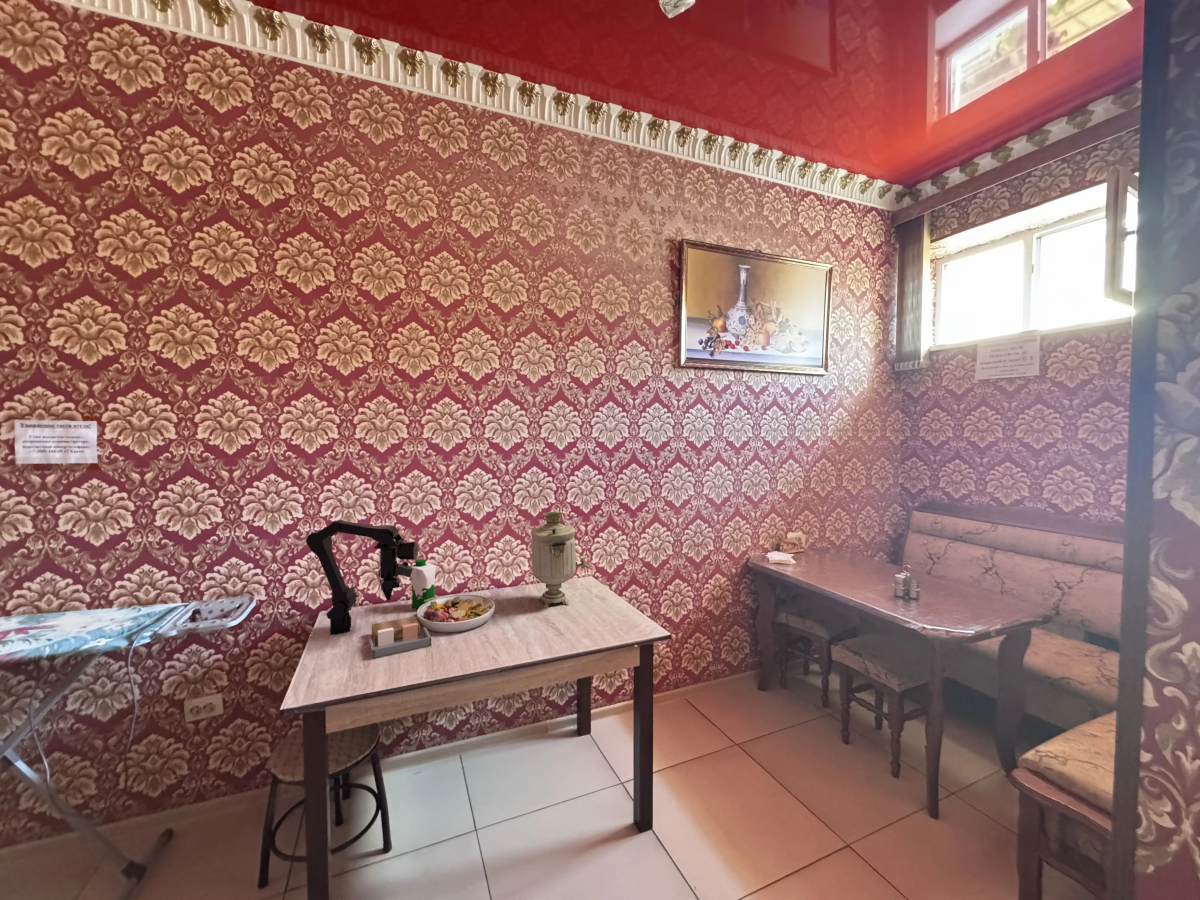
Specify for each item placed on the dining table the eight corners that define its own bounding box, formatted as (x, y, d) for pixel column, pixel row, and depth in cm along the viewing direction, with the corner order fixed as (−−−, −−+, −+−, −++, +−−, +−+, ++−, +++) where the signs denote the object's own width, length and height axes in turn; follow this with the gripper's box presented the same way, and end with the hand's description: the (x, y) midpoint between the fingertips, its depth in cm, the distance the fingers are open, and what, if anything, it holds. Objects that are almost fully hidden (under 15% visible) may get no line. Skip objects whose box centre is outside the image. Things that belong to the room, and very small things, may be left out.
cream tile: (377, 644, 166) (378, 646, 164) (377, 630, 165) (378, 632, 164) (392, 641, 168) (393, 643, 167) (392, 627, 168) (393, 629, 166)
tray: (372, 659, 156) (372, 650, 156) (369, 647, 165) (368, 638, 164) (431, 646, 166) (431, 637, 166) (425, 635, 175) (425, 627, 174)
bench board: (375, 645, 166) (375, 634, 165) (372, 634, 174) (372, 624, 174) (419, 636, 174) (419, 625, 173) (414, 626, 182) (414, 616, 182)
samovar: (587, 616, 193) (588, 521, 191) (524, 615, 194) (525, 520, 192) (590, 591, 223) (591, 508, 221) (535, 590, 224) (536, 507, 221)
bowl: (449, 601, 209) (449, 584, 208) (508, 611, 199) (508, 593, 198) (399, 628, 181) (399, 608, 180) (465, 641, 170) (465, 620, 170)
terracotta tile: (402, 638, 170) (403, 641, 168) (402, 625, 170) (403, 627, 168) (416, 635, 173) (417, 637, 171) (416, 622, 172) (417, 624, 171)
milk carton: (426, 601, 207) (425, 557, 206) (439, 606, 202) (439, 560, 201) (408, 608, 200) (408, 561, 199) (421, 613, 195) (421, 565, 194)
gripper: (414, 563, 173) (414, 604, 174) (408, 551, 189) (408, 589, 190) (381, 567, 168) (381, 610, 169) (377, 554, 184) (377, 593, 185)
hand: (388, 599), depth 178 cm, fingers closed
